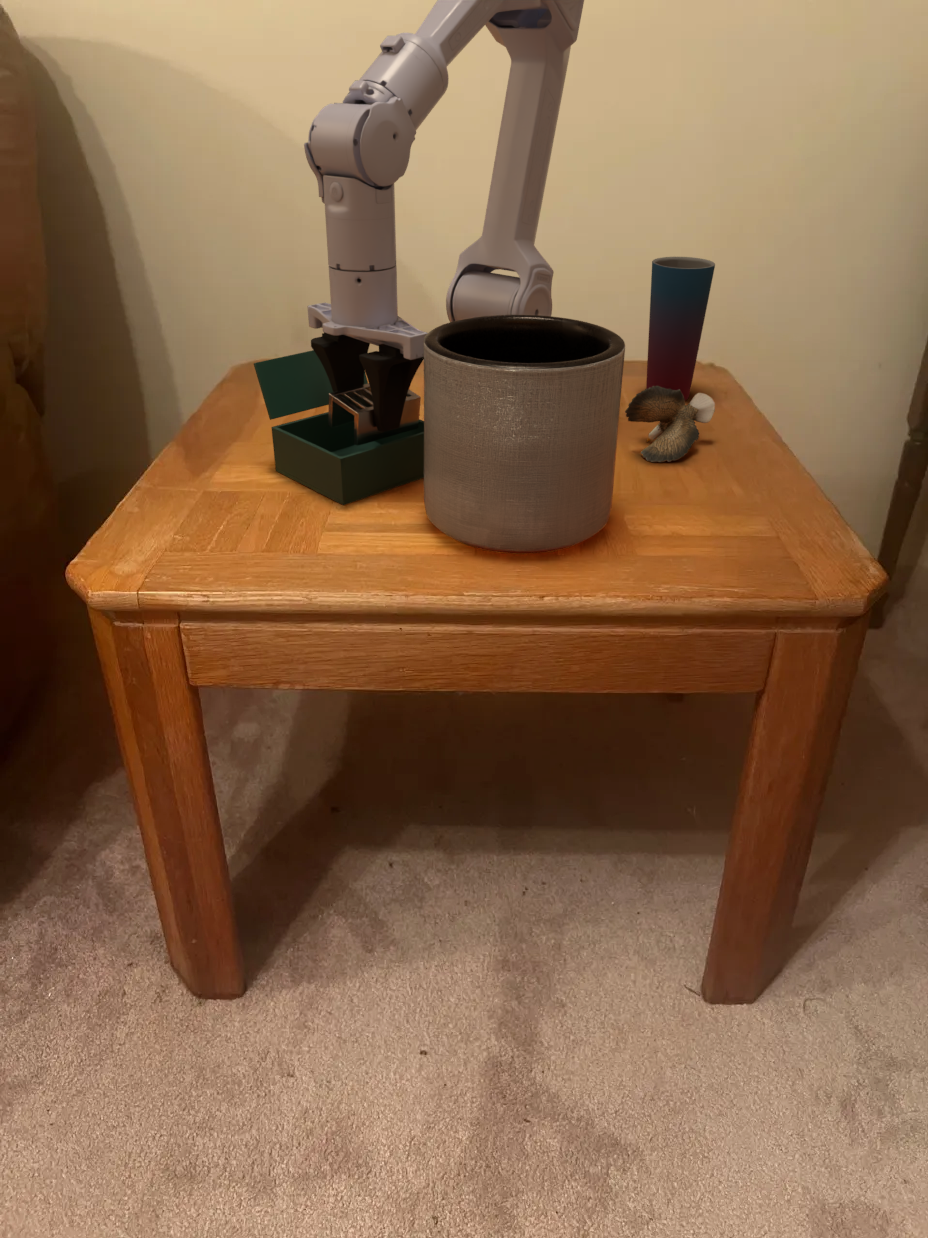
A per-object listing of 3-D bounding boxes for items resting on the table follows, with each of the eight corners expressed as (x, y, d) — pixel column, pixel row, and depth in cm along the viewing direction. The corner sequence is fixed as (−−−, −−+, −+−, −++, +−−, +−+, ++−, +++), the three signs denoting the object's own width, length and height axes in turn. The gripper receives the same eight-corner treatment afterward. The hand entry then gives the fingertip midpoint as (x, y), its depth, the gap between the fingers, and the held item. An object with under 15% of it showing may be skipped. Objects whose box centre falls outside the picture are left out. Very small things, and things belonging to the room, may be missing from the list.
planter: (422, 483, 88) (419, 313, 80) (592, 480, 89) (606, 312, 81) (426, 563, 75) (423, 367, 66) (627, 559, 75) (648, 365, 67)
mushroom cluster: (634, 415, 102) (605, 424, 94) (680, 363, 98) (653, 369, 90) (685, 464, 101) (659, 478, 93) (732, 414, 97) (710, 424, 89)
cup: (701, 405, 108) (721, 268, 101) (642, 404, 109) (657, 267, 101) (690, 387, 114) (708, 256, 107) (634, 386, 114) (647, 256, 107)
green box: (275, 470, 91) (271, 426, 88) (372, 441, 97) (370, 400, 95) (343, 505, 84) (340, 458, 82) (442, 471, 91) (442, 427, 88)
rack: (389, 408, 91) (390, 377, 89) (418, 428, 88) (421, 396, 86) (328, 425, 87) (328, 392, 85) (357, 446, 84) (358, 413, 82)
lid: (271, 419, 88) (269, 419, 88) (370, 393, 95) (368, 393, 95) (255, 362, 86) (253, 363, 87) (356, 340, 93) (354, 341, 94)
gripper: (274, 258, 82) (287, 410, 89) (379, 285, 73) (385, 452, 80) (340, 248, 86) (348, 395, 93) (447, 273, 77) (447, 433, 84)
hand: (369, 420), depth 87 cm, fingers closed on rack, 5 cm apart
